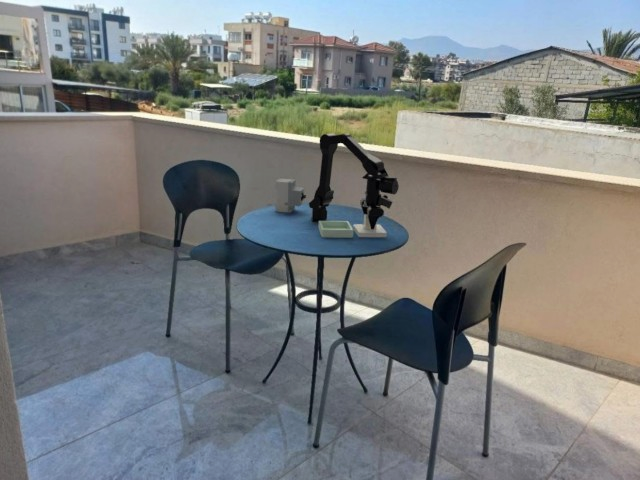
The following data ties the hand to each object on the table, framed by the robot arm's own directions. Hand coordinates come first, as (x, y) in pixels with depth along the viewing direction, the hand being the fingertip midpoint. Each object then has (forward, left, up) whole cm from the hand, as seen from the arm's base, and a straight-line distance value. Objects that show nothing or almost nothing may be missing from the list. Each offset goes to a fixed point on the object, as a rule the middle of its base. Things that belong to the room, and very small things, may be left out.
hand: (369, 226), depth 190 cm
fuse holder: (0, 0, -3) cm, 3 cm away
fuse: (0, 0, -3) cm, 3 cm away
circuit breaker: (-32, +35, -3) cm, 47 cm away
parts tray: (-15, 0, -3) cm, 15 cm away
